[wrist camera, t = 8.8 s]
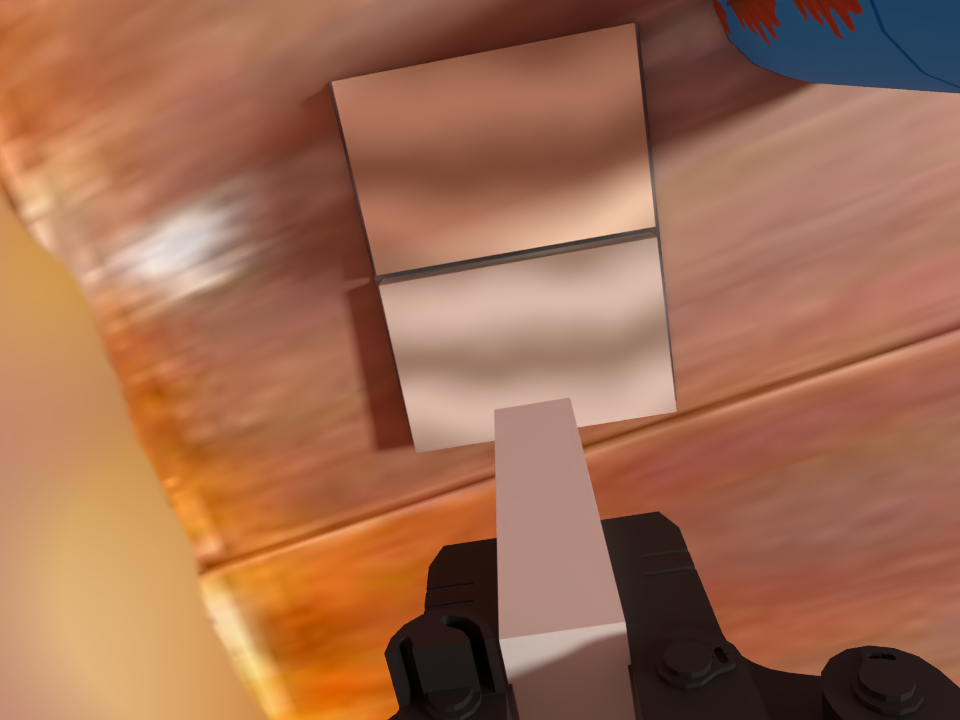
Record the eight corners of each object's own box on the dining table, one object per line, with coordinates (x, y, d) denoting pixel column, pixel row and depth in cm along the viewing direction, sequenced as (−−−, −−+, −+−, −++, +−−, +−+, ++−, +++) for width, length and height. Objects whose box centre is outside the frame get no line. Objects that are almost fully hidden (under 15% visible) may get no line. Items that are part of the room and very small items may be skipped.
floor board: (329, 82, 41) (321, 83, 39) (637, 22, 40) (644, 20, 38) (413, 440, 48) (410, 456, 46) (675, 398, 47) (683, 413, 45)
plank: (383, 278, 44) (378, 285, 43) (650, 231, 43) (657, 237, 42) (419, 440, 47) (416, 452, 46) (669, 400, 46) (676, 411, 45)
